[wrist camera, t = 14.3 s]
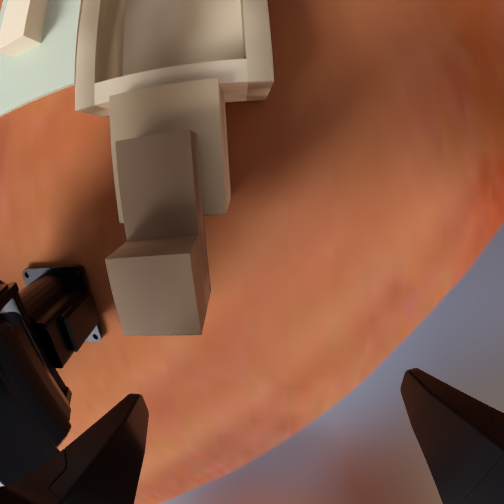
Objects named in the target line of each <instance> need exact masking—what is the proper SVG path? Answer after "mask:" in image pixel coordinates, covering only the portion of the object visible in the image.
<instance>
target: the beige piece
mask: <svg viewBox="0 0 504 504" xmlns="http://www.w3.org/2000/svg"><path fill="white" fill-rule="evenodd" d="M273 83H274V70H273V57H272V45H271V34H270V23H269V12H268V2H267V0H83V4H82V10H81V18H80V25H79V34H78V45H77V57H76V77H75V111H79V112H84V113H88V114H93V115H97V116H101V117H106V118H110V135H111V150H112V163H113V174H114V183H115V192H116V200H117V208H118V215H119V222H120V223H124V220H123V213H122V206H121V198H120V189H119V180H118V170H117V159H116V145H115V141H120V140H125V139H131V138H137V137H143V136H149V135H155V134H162V133H169V132H177V131H185V130H191V131H193V132H195V133H197V148H198V162H199V175H200V187H201V199H202V210H203V216H204V215H217V214H227V210H228V207H229V203H230V199H231V185H230V171H229V156H228V140H227V124H226V107H225V102H238V101H257V100H266V99H267V96H268V94H269V92H270V89H271V87H272V85H273Z"/></svg>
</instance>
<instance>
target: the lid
mask: <svg viewBox="0 0 504 504" xmlns="http://www.w3.org/2000/svg"><path fill="white" fill-rule="evenodd" d="M82 4H83V0H3V4H2V7H1V11H0V117H1V116H3V115H5V114H7V113H9V112H11V111H13V110H15V109H17V108H19V107H21V106H24V105H26V104H28V103H30V102H33V101H35V100H37V99H40V98H42V97H44V96H47V95H49V94H52V93H54V92H57V91H60V90H62V89H65V88H68V87H70V86H73V85H75V77H76V57H77V45H78V34H79V25H80V18H81V10H82Z"/></svg>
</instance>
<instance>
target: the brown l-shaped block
mask: <svg viewBox="0 0 504 504" xmlns="http://www.w3.org/2000/svg"><path fill="white" fill-rule="evenodd" d="M115 145H116V159H117V170H118V180H119V189H120V198H121V206H122V213H123V220H124V227H125V234H126V240H127V241H126V242H125V243H124V244H123V245H121V246H120V247H119V248H118V249H116V250H115V251H114V252H113V253H112V254H110V255H109V256H108V257H107V258H105V263H106V268H107V272H108V277H109V281H110V286H111V290H112V294H113V298H114V302H115V306H116V310H117V313H118V317H119V321H120V324H121V328H122V331H123V335H133V336H172V335H202V330H203V325H204V320H205V316H206V311H207V306H208V301H209V297H210V292H211V286H210V277H209V268H208V259H207V250H206V241H205V231H204V221H203V210H202V199H201V187H200V175H199V162H198V148H197V133H195V132H193V131H191V130H185V131H177V132H169V133H162V134H155V135H149V136H143V137H137V138H131V139H125V140H120V141H115Z"/></svg>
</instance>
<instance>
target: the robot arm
mask: <svg viewBox="0 0 504 504" xmlns="http://www.w3.org/2000/svg"><path fill="white" fill-rule="evenodd" d="M77 270H78V271H79V272H80V274H78V273H77ZM27 273H28V274H29V275H28V274H27ZM23 277H24V281H25V284H26V287H25V288H24V289H22V290H21V291H20V292H18V291H19V289H18V286H17V284H16V282H14V283H10V284H4V282H2V281H1V280H0V483H1V484H2V485H4V486H2V487H0V504H134V500H135V495H136V491H137V486H138V481H139V476H140V472H141V467H142V463H143V458H144V453H145V446H146V436H147V427H148V418H149V412H148V409H147V406H146V404H145V401H144V399H143V397H142V395H140V394H129V395H127V396H126V397H125V398H124V399H123V400H122V401H120V402H119V403H118V404H117V405H116V406H115V407H113V408H112V409H111V410H110V411H109V412H108V413H106V414H105V415H104V416H103V417H102V418H100V419H99V420H98V421H97V422H96V423H95V424H93V425H92V426H91V427H90V428H89V429H87V430H86V431H85V432H84V433H83V434H81V435H80V436H79V437H78V438H77V439H75V440H74V441H73V442H72V443H71V444H69V445H68V446H67V447H66V448H65V449H63V450H62V451H61V452H60V451H59V450H58V448H57V447H58V446H59V445H60V444H61V443H62V442H63V440H64V439H65V438H66V437H67V435H68V433H69V431H70V429H71V424H70V422H69V420H70V413H71V408H70V401H71V395H72V393H71V391H70V390H69V388H68V387H66V385H65V384H64V382H63V381H62V379H61V377H60V376H59V374H58V372H57V370H56V368H63V367H64V365H65V364H66V362H67V361H68V360H69V358H70V357H71V355H72V354H73V353H74V352H77V351H78V350H79V349H80V347H81V346H82V345H83V343H84V342H85V341H88V342H99V341H101V339H102V337H103V334H102V331H101V328H100V325H99V319H98V315H97V312H96V309H95V305H94V301H93V298H92V294H91V293H90V290H89V286H88V282H87V278H86V274H85V270H84V268H83V267H82V266H81V265H62V266H46V267H30V268H26V269H24V270H23ZM95 334H96V335H97V336H98V337H97V336H96V335H95ZM401 394H402V397H403V401H404V404H405V407H406V410H407V413H408V416H409V419H410V423H411V426H412V428H413V431H414V433H415V435H416V437H417V440H418V442H419V445H420V447H421V449H422V452H423V454H424V457H425V459H426V461H427V464H428V466H429V469H430V471H431V474H432V476H433V479H434V481H435V484H436V487H437V489H438V492H439V494H440V497H441V500H442V502H443V504H504V413H502V412H500V411H498V410H496V409H494V408H492V407H489V406H488V405H486V404H484V403H483V402H481V401H479V400H477V399H475V398H473V397H471V396H469V395H467V394H465V393H463V392H461V391H459V390H457V389H456V388H454V387H451V386H450V385H448V384H446V383H444V382H442V381H440V380H439V379H437V378H435V377H433V376H431V375H429V374H427V373H425V372H424V371H422V370H420V369H418V368H413V369H410V370H407V371H406V372H405V375H404V378H403V381H402V385H401Z"/></svg>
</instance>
